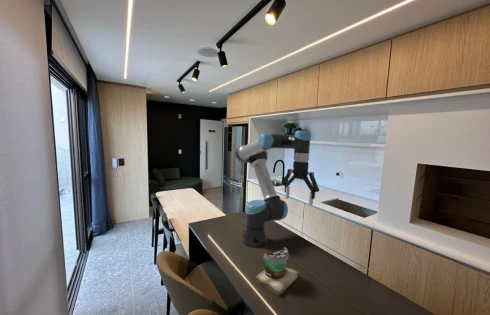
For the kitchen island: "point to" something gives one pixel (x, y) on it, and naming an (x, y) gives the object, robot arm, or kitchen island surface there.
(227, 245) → the kitchen island surface
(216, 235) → the kitchen island surface
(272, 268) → the food container
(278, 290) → the board
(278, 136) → the robot arm
